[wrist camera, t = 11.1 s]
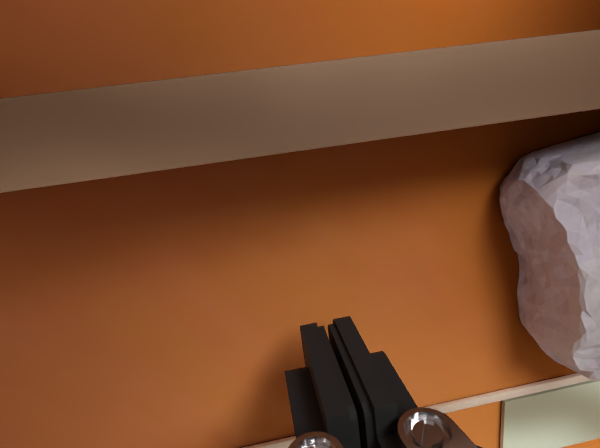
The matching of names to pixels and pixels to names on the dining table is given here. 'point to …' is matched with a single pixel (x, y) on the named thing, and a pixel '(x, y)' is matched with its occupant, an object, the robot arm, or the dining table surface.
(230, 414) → the dining table surface
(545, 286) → the stone block
